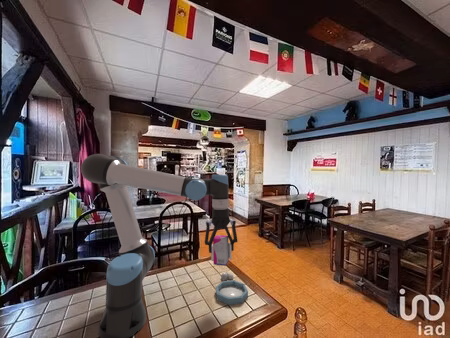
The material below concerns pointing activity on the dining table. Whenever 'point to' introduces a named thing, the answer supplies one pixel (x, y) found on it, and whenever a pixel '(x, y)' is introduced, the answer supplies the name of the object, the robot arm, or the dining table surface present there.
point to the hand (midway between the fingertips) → (221, 258)
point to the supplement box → (221, 250)
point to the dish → (231, 292)
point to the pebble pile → (226, 276)
